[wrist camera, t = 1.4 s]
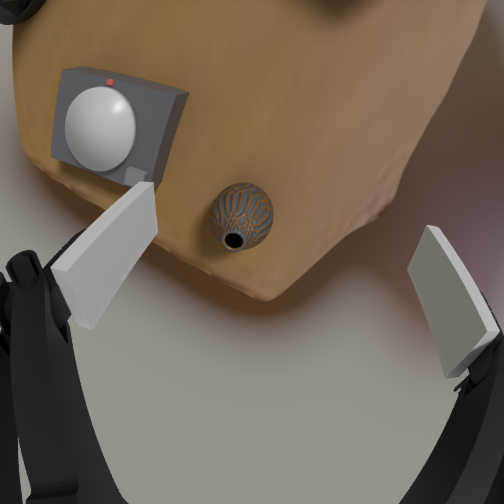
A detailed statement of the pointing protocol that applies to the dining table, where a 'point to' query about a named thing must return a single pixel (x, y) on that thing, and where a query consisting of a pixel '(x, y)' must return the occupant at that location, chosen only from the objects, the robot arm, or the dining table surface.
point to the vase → (241, 216)
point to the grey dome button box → (115, 124)
